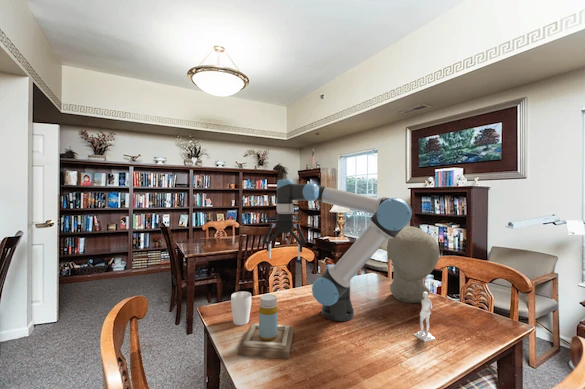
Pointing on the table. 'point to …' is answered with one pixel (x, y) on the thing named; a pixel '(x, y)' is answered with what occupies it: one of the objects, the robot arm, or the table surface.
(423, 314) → the figurine
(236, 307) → the cup
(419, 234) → the bust
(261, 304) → the bottle
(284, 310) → the table surface
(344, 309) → the robot arm
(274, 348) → the plinth
